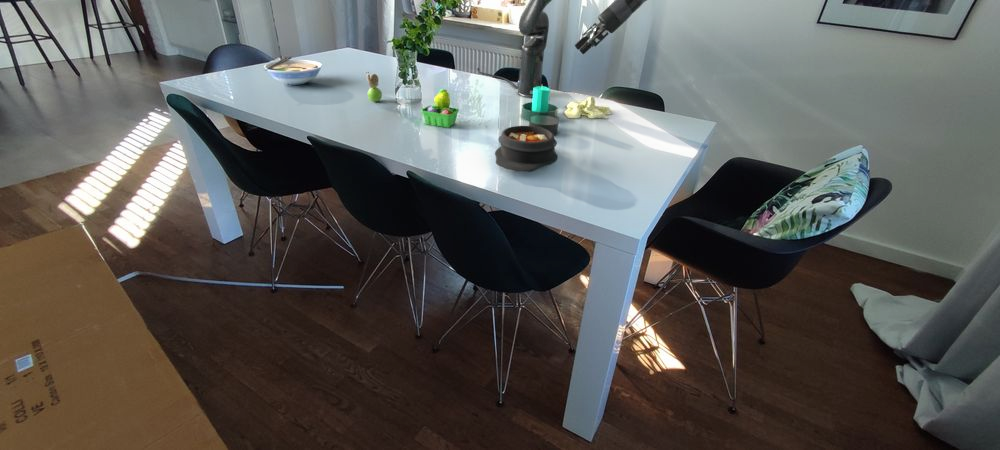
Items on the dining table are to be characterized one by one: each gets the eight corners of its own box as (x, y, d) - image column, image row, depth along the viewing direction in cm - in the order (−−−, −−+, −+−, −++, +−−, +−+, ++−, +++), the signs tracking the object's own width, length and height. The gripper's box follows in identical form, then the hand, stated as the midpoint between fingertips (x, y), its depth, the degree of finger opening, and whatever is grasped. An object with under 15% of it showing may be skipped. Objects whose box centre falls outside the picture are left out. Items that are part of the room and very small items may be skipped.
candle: (536, 119, 175) (539, 86, 169) (528, 114, 180) (530, 82, 174) (550, 117, 178) (553, 85, 172) (541, 113, 182) (544, 81, 176)
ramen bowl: (312, 91, 194) (309, 71, 190) (256, 89, 194) (252, 68, 190) (332, 77, 216) (329, 58, 212) (281, 75, 216) (278, 56, 212)
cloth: (572, 101, 199) (574, 87, 196) (616, 109, 193) (618, 94, 189) (554, 115, 181) (556, 99, 178) (601, 124, 175) (604, 107, 172)
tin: (515, 114, 181) (515, 104, 179) (543, 110, 187) (544, 100, 185) (534, 124, 171) (535, 114, 169) (563, 120, 177) (565, 110, 175)
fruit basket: (420, 124, 165) (419, 91, 159) (432, 117, 172) (431, 86, 167) (450, 129, 162) (450, 96, 156) (461, 122, 169) (461, 90, 164)
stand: (521, 128, 166) (522, 117, 164) (546, 124, 171) (547, 113, 169) (538, 138, 159) (539, 126, 157) (564, 134, 163) (565, 122, 161)
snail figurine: (363, 102, 185) (360, 70, 178) (373, 98, 190) (370, 67, 184) (375, 104, 183) (373, 72, 177) (385, 100, 188) (382, 69, 182)
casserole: (543, 182, 128) (546, 153, 124) (480, 170, 134) (481, 141, 129) (566, 152, 149) (570, 126, 144) (510, 142, 154) (512, 117, 150)
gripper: (603, 4, 167) (568, 38, 172) (614, 8, 155) (575, 45, 160) (616, 21, 170) (580, 54, 175) (627, 26, 158) (589, 62, 163)
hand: (578, 49), depth 167 cm, fingers open, 8 cm apart
